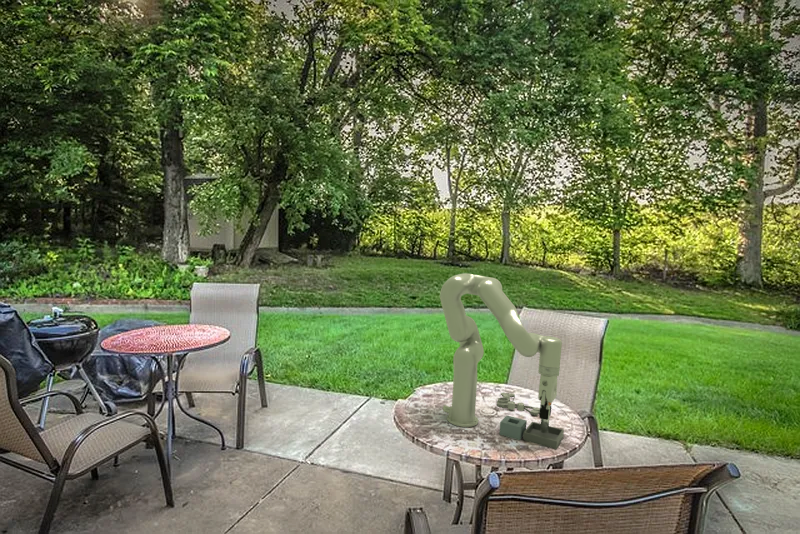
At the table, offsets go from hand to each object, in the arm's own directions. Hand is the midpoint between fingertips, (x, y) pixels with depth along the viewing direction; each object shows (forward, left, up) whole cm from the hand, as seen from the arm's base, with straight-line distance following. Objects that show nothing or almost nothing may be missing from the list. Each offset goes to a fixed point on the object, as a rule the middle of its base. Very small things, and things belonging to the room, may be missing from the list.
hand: (544, 416), depth 176 cm
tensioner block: (-11, -3, -9) cm, 14 cm away
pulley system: (-20, +27, -9) cm, 35 cm away
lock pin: (0, 0, -6) cm, 6 cm away
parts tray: (0, 0, -9) cm, 9 cm away
